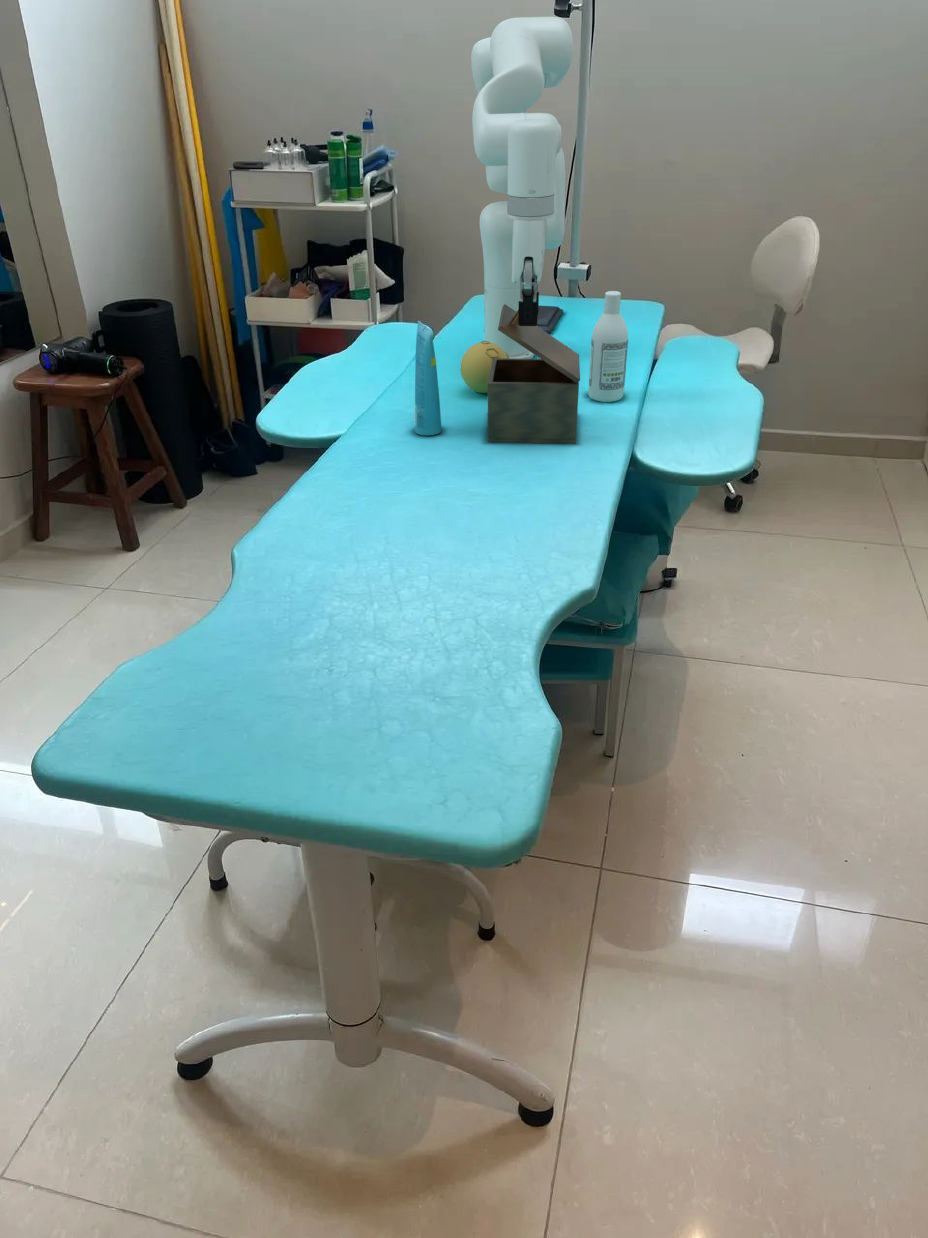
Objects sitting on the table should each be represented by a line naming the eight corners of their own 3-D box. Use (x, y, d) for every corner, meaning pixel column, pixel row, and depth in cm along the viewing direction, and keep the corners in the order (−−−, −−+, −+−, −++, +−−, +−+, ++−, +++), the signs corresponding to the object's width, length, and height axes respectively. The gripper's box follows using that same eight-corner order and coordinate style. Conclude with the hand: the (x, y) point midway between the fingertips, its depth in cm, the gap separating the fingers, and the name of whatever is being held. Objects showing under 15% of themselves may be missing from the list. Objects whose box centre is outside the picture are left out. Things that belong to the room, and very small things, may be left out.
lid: (497, 329, 152) (517, 299, 149) (502, 307, 163) (520, 279, 161) (577, 383, 156) (598, 355, 153) (576, 358, 167) (595, 331, 164)
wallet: (549, 326, 215) (487, 322, 219) (549, 334, 216) (487, 330, 220) (566, 304, 231) (507, 300, 235) (565, 311, 232) (507, 308, 236)
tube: (448, 435, 166) (445, 328, 156) (424, 440, 165) (419, 333, 154) (431, 421, 172) (427, 318, 161) (408, 426, 170) (402, 322, 160)
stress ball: (483, 404, 179) (483, 353, 174) (451, 391, 185) (449, 342, 180) (520, 391, 185) (521, 342, 179) (487, 379, 191) (487, 331, 185)
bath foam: (630, 396, 181) (639, 292, 170) (606, 405, 177) (614, 299, 166) (605, 387, 185) (612, 285, 174) (580, 396, 182) (586, 292, 171)
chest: (487, 442, 163) (487, 383, 157) (492, 414, 175) (492, 358, 169) (575, 443, 162) (578, 384, 156) (574, 415, 173) (577, 358, 167)
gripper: (510, 197, 155) (509, 306, 165) (504, 216, 141) (503, 335, 151) (554, 196, 154) (551, 307, 164) (553, 216, 140) (549, 335, 150)
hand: (528, 319), depth 158 cm, fingers closed on lid, 5 cm apart
